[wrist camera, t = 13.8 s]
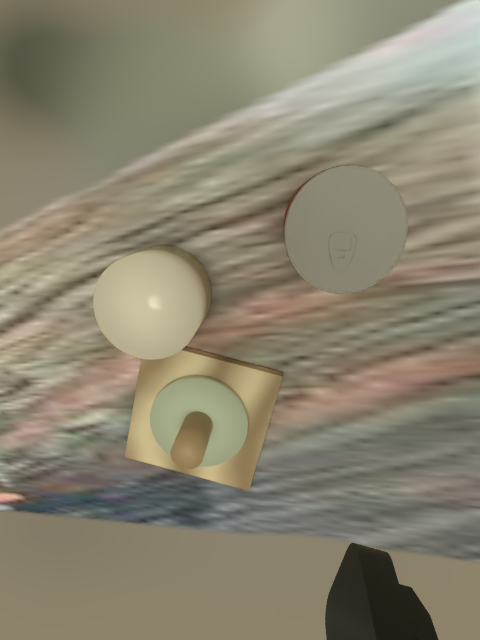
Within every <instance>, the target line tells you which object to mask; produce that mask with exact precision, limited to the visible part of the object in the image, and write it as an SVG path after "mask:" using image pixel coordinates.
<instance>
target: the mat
mask: <svg viewBox="0 0 480 640" xmlns="http://www.w3.org/2000/svg"><path fill="white" fill-rule="evenodd" d="M189 375H204V376H209V377H213V378H216V379H218V380H220V381H222V382H224V383H226V384H227V385H229V386H230V387H231V388H232V389H233V390H234V391H235V392H236V393H237V394H238V395H239V396H240V398H241V399H242V401H243V403H244V405H245V407H246V410H247V414H248V430H247V436H246V439H245V442H244V444H243V446H242V448H241V449H240V450H239V452H238V453H237V454H236V455H235V456H233V457H232V458H231V459H229V460H227V461H226V462H224V463H221V464H218V465H214V466H208V467H199V466H198V467H196V468H193V469H184V468H181V467H179V466H177V465H176V464H175V463H174V462H173V460H172V459H171V456H170V455H168V454H167V453H166V452H165V451H164V450H163V449H162V448H161V447H160V446H159V444H158V443H157V441H156V440H155V438H154V436H153V433H152V430H151V426H150V412H151V408H152V405H153V403H154V401H155V399H156V397H157V396H158V394H159V393H160V391H161V390H162V389H163V388H164V387H165V386H166V385H167V384H169V383H170V382H172V381H173V380H175V379H178V378H180V377H184V376H189ZM282 378H283V372H280V371H276V370H272V369H268V368H264V367H261V366H257V365H253V364H249V363H245V362H241V361H238V360H234V359H230V358H226V357H222V356H219V355H215V354H211V353H207V352H203V351H199V350H196V349H192V348H188V347H184V348H183V349H182V350H180V351H179V352H177V353H176V354H174V355H172V356H169V357H166V358H162V359H154V360H149V359H141V365H140V370H139V376H138V382H137V388H136V394H135V400H134V405H133V411H132V417H131V423H130V429H129V435H128V440H127V446H126V452H125V457H127V458H130V459H134V460H138V461H142V462H145V463H149V464H153V465H156V466H160V467H164V468H167V469H171V470H175V471H178V472H182V473H186V474H189V475H193V476H197V477H200V478H204V479H208V480H211V481H215V482H219V483H222V484H226V485H230V486H233V487H237V488H241V489H244V490H248V491H249V489H250V486H251V482H252V479H253V476H254V472H255V469H256V466H257V462H258V459H259V456H260V452H261V449H262V446H263V442H264V439H265V435H266V432H267V429H268V425H269V422H270V419H271V415H272V412H273V409H274V405H275V402H276V398H277V395H278V392H279V388H280V385H281V382H282Z"/></svg>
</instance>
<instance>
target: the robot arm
mask: <svg viewBox="0 0 480 640" xmlns="http://www.w3.org/2000/svg"><path fill="white" fill-rule="evenodd" d="M325 621H326V622H325V625H326V636H327V640H438V637H437V634H436V631H435V628H434V626H433V623H432V620H431V617H430V615H429V613H428V612H427V610H426V609H425V607H424V606H423V604H422V603H421V601H420V600H419V598H418V597H417V595H416V594H415V592H414V591H413V589H412V588H411V587H408V586H404V585H400V584H399V583H398V579H397V576H396V573H395V569H394V566H393V562H392V560H391V557H390V555H389V554H388V553H387V552H384V551H381V550H377V549H373V548H370V547H366V546H362V545H359V544H355V543H351V544H350V545H349V547H348V549H347V551H346V553H345V556H344V558H343V561H342V563H341V566H340V568H339V570H338V573H337V575H336V577H335V580H334V582H333V585H332V587H331V590H330V592H329V595H328V599H327V605H326V617H325Z"/></svg>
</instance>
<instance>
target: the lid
mask: <svg viewBox="0 0 480 640" xmlns="http://www.w3.org/2000/svg"><path fill="white" fill-rule="evenodd" d="M150 426H151V430H152V433H153V436H154V438H155V440H156V441H157V443H158V444H159V446H160V447H161V448H162V449H163V450H164V451H165V452H166V453H167V454H168V455H170V456H171V459H172V460H173V462H174V463H175V464H176V465H177V466H179V467H181V468H184V469H193V468H196V467H198V466H199V467H208V466H214V465H218V464H221V463H224V462H226V461H227V460H229V459H231V458H232V457H233V456H235V455H236V454H237V453H238V452H239V450H240V449H241V448H242V446H243V444H244V442H245V439H246V436H247V430H248V414H247V410H246V407H245V405H244V403H243V401H242V399H241V398H240V396H239V395H238V394H237V393H236V392H235V391H234V390H233V389H232V388H231V387H230V386H229V385H227V384H226V383H224V382H222V381H220V380H218V379H216V378H213V377H209V376H204V375H189V376H184V377H180V378H178V379H175V380H173V381H172V382H170V383H169V384H167V385H166V386H165V387H164V388H163V389H162V390H161V391H160V393H159V394H158V396H157V397H156V399H155V401H154V403H153V405H152V408H151V412H150Z"/></svg>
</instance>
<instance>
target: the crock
mask: <svg viewBox="0 0 480 640" xmlns="http://www.w3.org/2000/svg"><path fill="white" fill-rule="evenodd" d="M211 301H212V288H211V283H210V280H209V277H208V275H207V273H206V271H205V269H204V268H203V266H202V265H201V264H200V263H199V261H198V260H197V259H196V258H194V257H193V256H192V255H191V254H189V253H187V252H186V251H184V250H182V249H179V248H176V247H172V246H154V247H150V248H147V249H145V250H142V251H140V252H137V253H134V254H132V255H129V256H126V257H124V258H121V259H119V260H117V261H115V262H114V263H112V264H111V265H110V266H109V267H108V268H107V269H106V270H105V271H104V272H103V273H102V275H101V276H100V278H99V280H98V282H97V284H96V287H95V291H94V297H93V306H94V313H95V317H96V320H97V323H98V325H99V327H100V329H101V331H102V332H103V334H104V335H105V336H106V338H107V339H108V340H109V341H110V342H111V343H112V344H113V345H114V346H115V347H117V348H118V349H119V350H121V351H123V352H124V353H126V354H128V355H131V356H133V357H137V358H141V359H149V360H154V359H162V358H166V357H169V356H172V355H174V354H176V353H177V352H179V351H180V350H182V349H183V348H184V347H185V346H186V345H187V344H188V343H189V342H190V340H191V339H192V337H193V336H194V334H195V333H196V331H197V330H198V328H199V327H200V325H201V324H202V322H203V320H204V319H205V317H206V316H207V314H208V312H209V309H210V306H211Z"/></svg>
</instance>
